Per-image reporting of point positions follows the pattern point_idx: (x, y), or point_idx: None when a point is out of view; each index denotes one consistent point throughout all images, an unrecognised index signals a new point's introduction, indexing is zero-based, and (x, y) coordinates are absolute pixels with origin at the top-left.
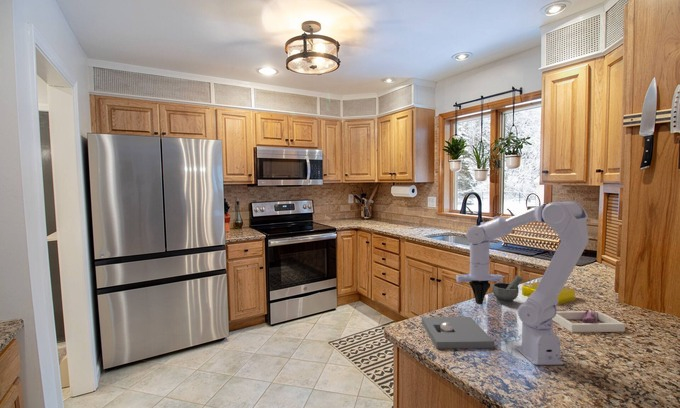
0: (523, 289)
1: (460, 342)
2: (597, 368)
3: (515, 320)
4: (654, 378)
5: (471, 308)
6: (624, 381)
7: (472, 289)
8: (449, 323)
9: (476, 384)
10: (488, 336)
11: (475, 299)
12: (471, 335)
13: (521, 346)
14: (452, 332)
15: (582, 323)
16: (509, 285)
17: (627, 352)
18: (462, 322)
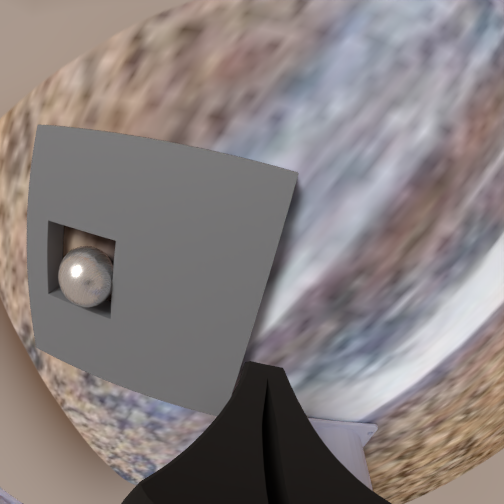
0: None
1: (104, 377)
2: (384, 478)
3: (499, 232)
4: (423, 488)
5: (418, 27)
6: None
7: (200, 440)
8: (83, 294)
9: (102, 453)
10: (228, 390)
11: (242, 376)
12: (162, 364)
13: (315, 425)
14: (97, 316)
15: None
16: None
17: (493, 433)
18: (195, 237)
